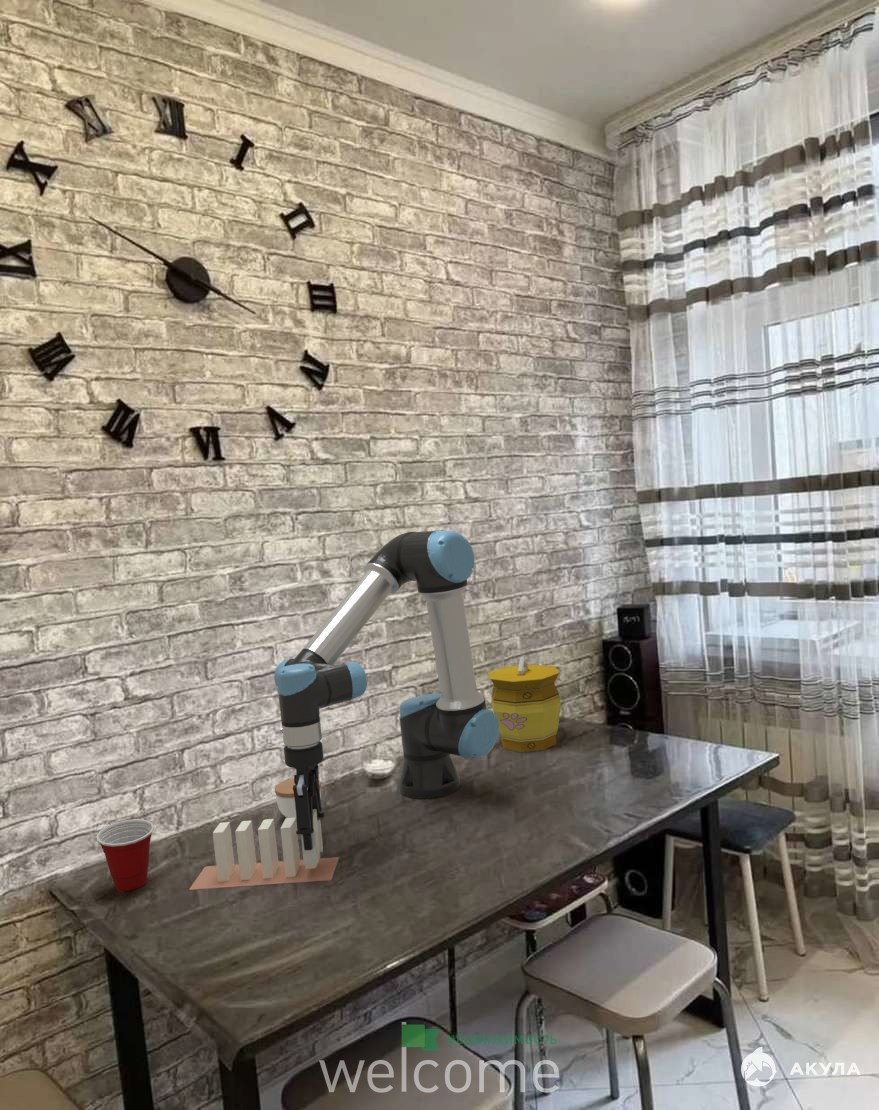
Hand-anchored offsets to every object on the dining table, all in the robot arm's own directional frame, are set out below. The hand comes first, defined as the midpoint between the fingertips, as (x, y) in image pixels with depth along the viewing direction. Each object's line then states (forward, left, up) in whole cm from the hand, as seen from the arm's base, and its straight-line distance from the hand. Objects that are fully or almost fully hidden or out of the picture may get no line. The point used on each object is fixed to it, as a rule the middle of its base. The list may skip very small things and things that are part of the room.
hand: (313, 857), depth 166 cm
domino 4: (+4, 0, -3) cm, 5 cm away
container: (-48, -73, -3) cm, 88 cm away
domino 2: (+13, 0, -3) cm, 14 cm away
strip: (+10, 0, -3) cm, 10 cm away
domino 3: (+9, 0, -3) cm, 9 cm away
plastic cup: (+37, +1, -3) cm, 37 cm away
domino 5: (0, 0, -1) cm, 1 cm away
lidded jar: (+9, -30, -3) cm, 32 cm away
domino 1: (+18, 0, -3) cm, 18 cm away
